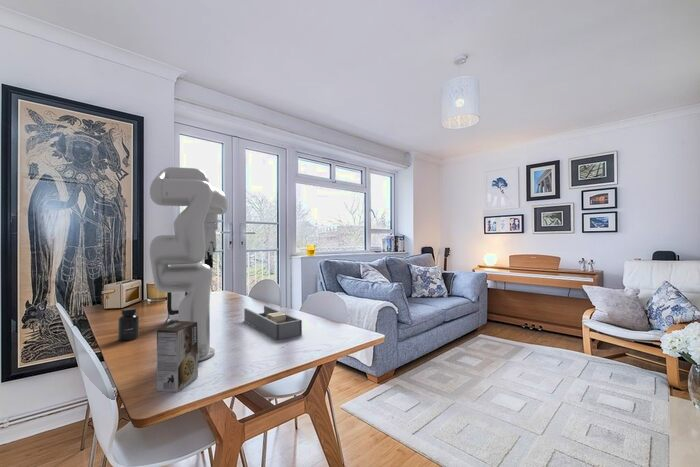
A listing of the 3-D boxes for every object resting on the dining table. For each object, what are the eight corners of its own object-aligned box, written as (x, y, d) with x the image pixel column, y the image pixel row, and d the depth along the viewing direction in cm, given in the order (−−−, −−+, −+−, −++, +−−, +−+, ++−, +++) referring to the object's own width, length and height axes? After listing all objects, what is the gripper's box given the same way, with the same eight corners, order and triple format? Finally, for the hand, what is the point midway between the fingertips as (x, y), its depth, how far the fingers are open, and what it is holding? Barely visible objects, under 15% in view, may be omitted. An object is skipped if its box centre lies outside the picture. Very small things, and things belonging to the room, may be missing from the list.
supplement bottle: (126, 342, 125) (126, 311, 125) (113, 340, 127) (114, 310, 127) (142, 337, 131) (142, 307, 131) (130, 335, 133) (130, 306, 134)
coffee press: (159, 321, 157) (159, 260, 158) (194, 315, 168) (193, 258, 168) (167, 328, 144) (167, 261, 145) (204, 322, 155) (204, 259, 155)
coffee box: (177, 376, 93) (177, 320, 93) (198, 377, 92) (198, 321, 93) (155, 391, 84) (155, 329, 84) (178, 392, 83) (178, 330, 83)
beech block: (285, 323, 141) (285, 314, 141) (272, 325, 137) (272, 316, 137) (279, 320, 145) (279, 312, 146) (267, 323, 142) (267, 314, 142)
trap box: (301, 334, 132) (301, 320, 133) (276, 339, 126) (276, 324, 126) (265, 317, 163) (265, 305, 163) (244, 320, 156) (244, 308, 156)
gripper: (195, 227, 146) (195, 267, 146) (203, 226, 134) (203, 270, 134) (213, 227, 151) (213, 266, 150) (222, 226, 139) (222, 268, 138)
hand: (208, 268), depth 142 cm, fingers closed
